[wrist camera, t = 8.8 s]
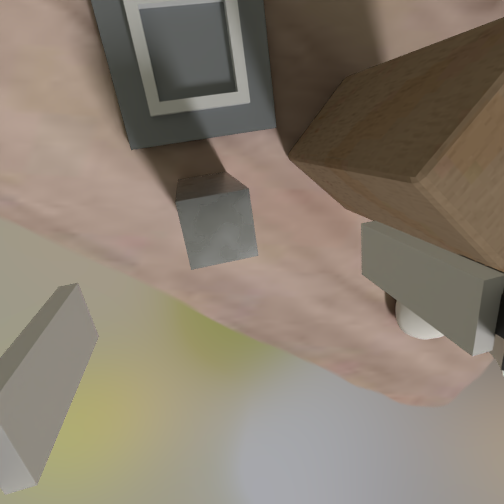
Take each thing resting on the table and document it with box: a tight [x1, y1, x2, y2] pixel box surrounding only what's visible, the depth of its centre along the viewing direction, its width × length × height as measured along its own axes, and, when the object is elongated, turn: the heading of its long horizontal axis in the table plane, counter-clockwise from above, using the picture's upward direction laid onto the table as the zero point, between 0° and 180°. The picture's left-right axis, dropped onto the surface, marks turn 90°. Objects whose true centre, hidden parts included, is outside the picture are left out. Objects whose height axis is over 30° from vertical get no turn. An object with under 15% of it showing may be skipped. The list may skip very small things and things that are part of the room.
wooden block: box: [288, 17, 504, 272], centre depth 25 cm, size 10×10×20 cm
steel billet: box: [175, 172, 258, 270], centre depth 27 cm, size 5×5×12 cm
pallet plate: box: [91, 0, 276, 150], centre depth 27 cm, size 14×14×2 cm
